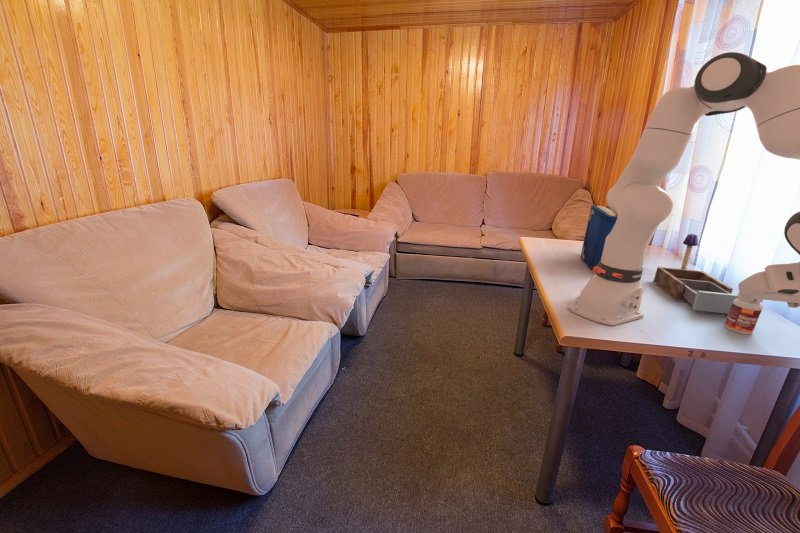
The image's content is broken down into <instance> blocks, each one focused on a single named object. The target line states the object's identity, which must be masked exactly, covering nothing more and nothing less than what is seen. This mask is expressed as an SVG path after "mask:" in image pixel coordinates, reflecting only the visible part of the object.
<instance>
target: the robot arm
mask: <svg viewBox="0 0 800 533" xmlns="http://www.w3.org/2000/svg"><path fill="white" fill-rule="evenodd" d="M767 68H768V67H767V66H766V65H765V63H762V62H760V61H758V60H756V59H754V58H753V57H752V56H750V55H748V54H745V53H742V52H736V51H730V52H724V53H723V52H722V53H721V54H717V55H716V56H713V57H712V58H711V59H709V60H707V61H706V63H704V64H703V65H702V66H701V67H700V69H699V70H698V72H697V73H696V76H695V78H694V82H693V83H694V84H693V86H689V87H688V86H686V87H685V86H684V87H682V86H680V87H676V88H672V89H670V90H667V91H666V92H665V93H664V94H663V95H662V96H661V98H660V99H659V101H658V102H657V104H656V106H655V107H654V108H653V111H652V113H651V114H650V116H649V118H648V119H647V122H646V124H645V127H644V129H643V131H642V132H641V133H642V134H641V135H640V138H639V141H638V142H637V145H636V148H635V149H634V151H633V152H634V153H633V154H632V156H631V158H630V160H629V162H628V163H627V165H626V167H625V168H624V170H623V171H622V172H621V174H620V176H619V177H618V179H617V181H616V182H615V183H614V185H613V186H612V187H611V188H609V190H608V192H607V193H606V203H607V206H608V207H609V208H610V209H611V211H612V212H613V213H615V214H617V215H618V217H617V220H616V223H615V225H614V227H613V229H612V231H611V232H610V234H609V235H608V236H607V237H606V240H605V244H604V249H603V253H602V257H601V260H600V261H599V263H598V265H597V266H595V267H594V268H593V271H592V272H593V273H595V274H593V276H592V277H590V279H589V280H588V282H587V283H586V285H585V286H584V288H583V289H582V290H581V291H580V294H579V296H578V297H577V298H576V299H575V300H574V301H573V302H571V303H570V304H569V306H568V310H570V311H571V312H572V313H574V314H576V315H578V316H581V317H582V318H585V319H587V320H590V321H593V322H597V323H599V324H604V325H608V326H618V325H621V324H624V323H628V322H631V321H634V320H638V319H642V318H644V312H642V311H641V303H642V299H643V298H642V297H643V293H644V289H643V287H642V285H641V283H640V281H641V279H642V276H643V269H644V268H643V265H644V260H645V257H646V254H647V250H648V247H649V244H650V242H651V240H652V238H653V236H654V234H655V232H656V231H657V229H658V228H659V226H660V224H661V223H663V222H664V221H665V220H666V219H667V218H668V217H670V215H671V213H672V211H673V208H674V207H673V206H674V204H673V199H672V197H671V196H670V195H669V194H668V192H666V191H665V190H664V189H663V188H661V187H659V186H661V183H662V182H663V180H664V179H665V178H666V177H667V176H668V175H669V173H670V172H672V171H673V170H674V169H675V168H676V167H677V166H678V165H679V163H680V161H681V158H682V156H683V155H684V152H685V150H686V147H687V146H688V144H689V142H690V140H691V137H692V135H693V133H694V131H695V128H696V126H697V125H698V123H699V121H700V120H701V118H702V117H704V116H707V117H710V116H716V115H717V116H718V115H722V114H723V115H724V114H731V113H734V112H735V113H736V112H738V111H740V110H741V111H742V110H744V109H746V108H748V109H749V110H750V111H751V113H752V116H753V118H754V123H755V126H756V130H757V134H758V138H759V140H760V143H761V144H762V146H763V147H764V149H765V150H766V151H767V152H768V153H770V154H772V155H774V156H778V157H781V158H787V159H794V160H800V64H790V65H785V66H781V67H778V68H776V69H773V70H771V71H767V70H768V69H767ZM783 230H784V231H783V232H784V233H783V234H784V238H785V240H786V242H787V243H788V244H789V247H791V248H792V249H793V251H795V253H796V254H798V256H800V211H798V212H795V213H794V214H792V216H791V217H790V218H789V219H788V220H787V222H786V223H785V226H784V229H783ZM737 287H738V291H739V292H740V295H741V296H742V297H743V298H745V302H746V303H754V302H757V299H762V300H763V301H764V300H765V301H773V302H784V303H787V306H788V308H794V309H797V308H800V261H797V262H790V263H776V264H774V263H773V264H769V265H767V266H765V267H764V271H759V272H757V273H754V274H752V275H750V276H748V277H747V278H745V279H743V280H742V281H740V282H739V283H738V286H737ZM739 292H738V293H739Z"/></svg>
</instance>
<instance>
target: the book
mask: <svg viewBox="0 0 800 533" xmlns="http://www.w3.org/2000/svg"><path fill="white" fill-rule="evenodd" d="M617 217H618V215H617V214H615V213H613V212H612V211H611V209H610V208H609V206H608V205H607V206H602V205H594V204H593V205H591V207H590V210H589V216H588V220H587V226H586V229H585V234H584V240H583V244H582V248H581V253H580V257H579V258H580V259H581V261H582V262H583V263H584V264H585V265H586V266H587V268H588V270H590V271H591V270H592V272H593V268H594V267H595V266H597V265H598V263H599V261H600V260H601V257H602V253H603V249H604V244H605V240H606V237H607V236H608V235H609V234H610V232H611V231H612V229H613V227H614V225H615V223H616V220H617Z"/></svg>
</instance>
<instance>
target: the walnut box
mask: <svg viewBox="0 0 800 533" xmlns="http://www.w3.org/2000/svg"><path fill="white" fill-rule="evenodd" d="M677 278H678V279H677ZM679 279H688V280H698V281H709V282H713V283H715V284H716V285H718V286H719V287H721V288H723V289H724V290H726V291H728V292H729V293H731V294H733V291H734V289H733V288H732V286H731V287H730V286H729V285H727V284H726V283H724V282H722V281H720V280H718V279H717V278H716V277H713V276H712V275H710V274H709V273H707V272H705V271H703V270H698V269H696V270H694V269H687V268H686V269H681V268H676V267H675V268H674V267H661V266H657V268H656V271H655V275H654V279H653V283H655V284H656V285H657V286H658V287H659V288H660V289H662V290H663V291H664V292H666V293H667V294H668V295H670V297H671V298H673V299H675V300H676V301H683V302H688V301H687V300H686V299H684V298H683V297H682V293H683V290H684V287H685V283H683V282H682V281H680V280H679Z"/></svg>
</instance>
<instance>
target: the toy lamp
mask: <svg viewBox="0 0 800 533" xmlns="http://www.w3.org/2000/svg"><path fill="white" fill-rule="evenodd" d="M682 243H683V245H685V246H686V248H685V253H684V256H683V260H682V263H681V267H680V269H686V270H687V268H688V263H689V260H690V258H691V257H690V256H691V252H692V249H693V247H696V246H698V244H699V240H698V235H697V234H694V233H688V234H687V236H685V239H684V240H683V242H682Z"/></svg>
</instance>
